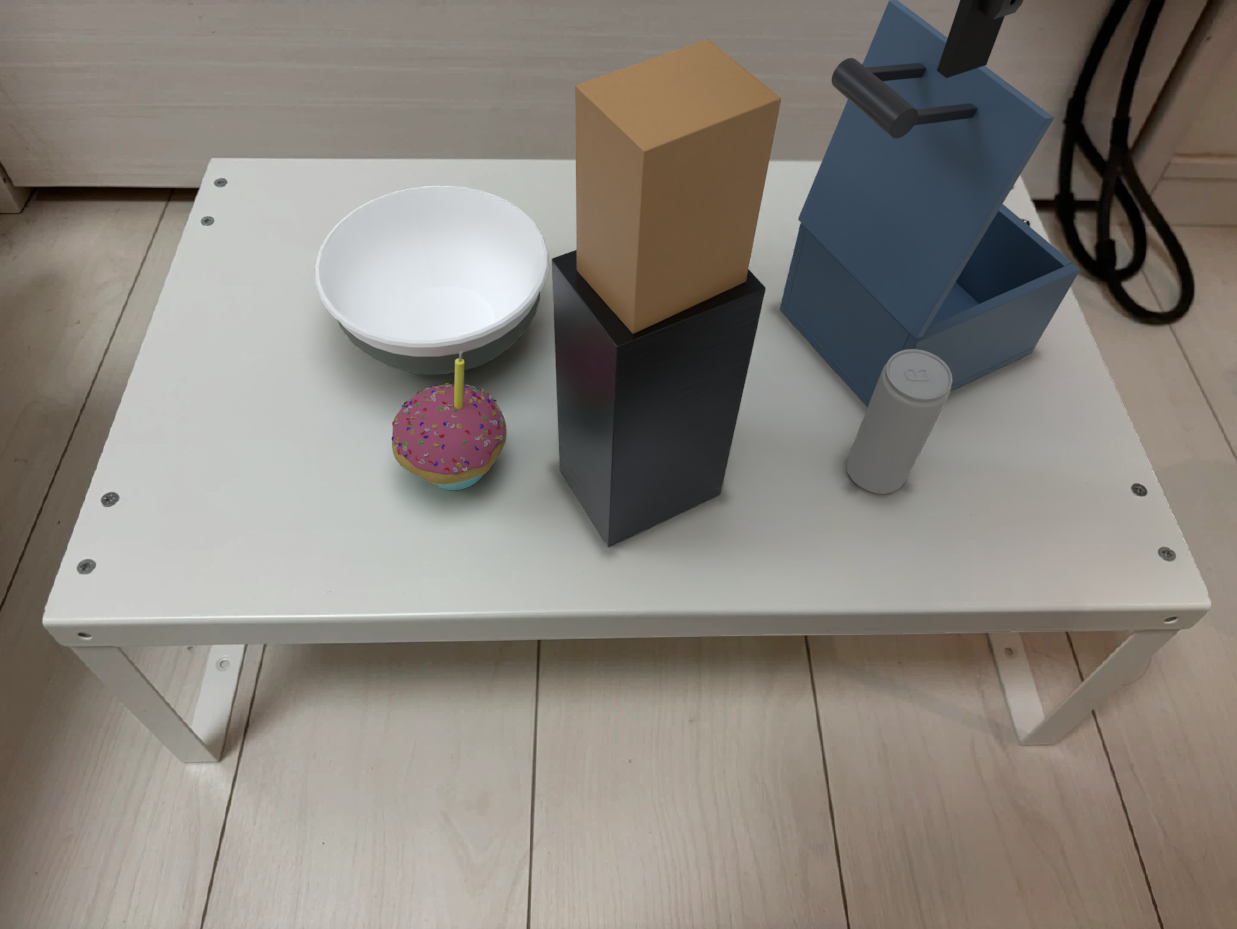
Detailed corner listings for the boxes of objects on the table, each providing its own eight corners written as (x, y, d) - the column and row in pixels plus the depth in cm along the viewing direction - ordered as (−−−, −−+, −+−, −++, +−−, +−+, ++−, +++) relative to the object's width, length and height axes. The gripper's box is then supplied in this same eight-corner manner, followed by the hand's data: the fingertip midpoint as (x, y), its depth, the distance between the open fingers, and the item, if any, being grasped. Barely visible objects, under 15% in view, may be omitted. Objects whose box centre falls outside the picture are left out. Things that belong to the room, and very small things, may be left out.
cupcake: (467, 407, 76) (450, 302, 66) (533, 471, 73) (525, 370, 63) (379, 463, 73) (347, 361, 63) (444, 533, 69) (421, 437, 59)
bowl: (355, 436, 74) (333, 368, 67) (320, 279, 84) (297, 206, 77) (578, 383, 78) (578, 313, 71) (519, 239, 88) (514, 166, 81)
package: (746, 282, 54) (782, 97, 44) (632, 334, 52) (644, 151, 42) (686, 223, 57) (708, 37, 47) (576, 270, 54) (574, 84, 45)
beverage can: (910, 498, 72) (961, 401, 63) (848, 497, 72) (890, 399, 62) (900, 448, 75) (947, 348, 65) (840, 447, 75) (879, 346, 65)
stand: (721, 495, 72) (766, 287, 54) (608, 547, 69) (616, 347, 51) (668, 422, 76) (693, 207, 58) (559, 469, 73) (551, 258, 55)
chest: (922, 250, 89) (956, 164, 81) (1031, 353, 82) (1081, 269, 74) (779, 309, 84) (800, 223, 76) (882, 424, 77) (917, 342, 68)
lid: (897, -1, 63) (804, 3, 59) (1055, 117, 55) (960, 130, 51) (804, 218, 76) (723, 232, 72) (922, 336, 68) (839, 360, 64)
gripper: (753, -613, 39) (701, -78, 56) (1239, -490, 26) (981, 148, 44) (893, -617, 41) (802, -102, 58) (1401, -506, 29) (1095, 106, 46)
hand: (878, 6), depth 51 cm, fingers open, 13 cm apart
